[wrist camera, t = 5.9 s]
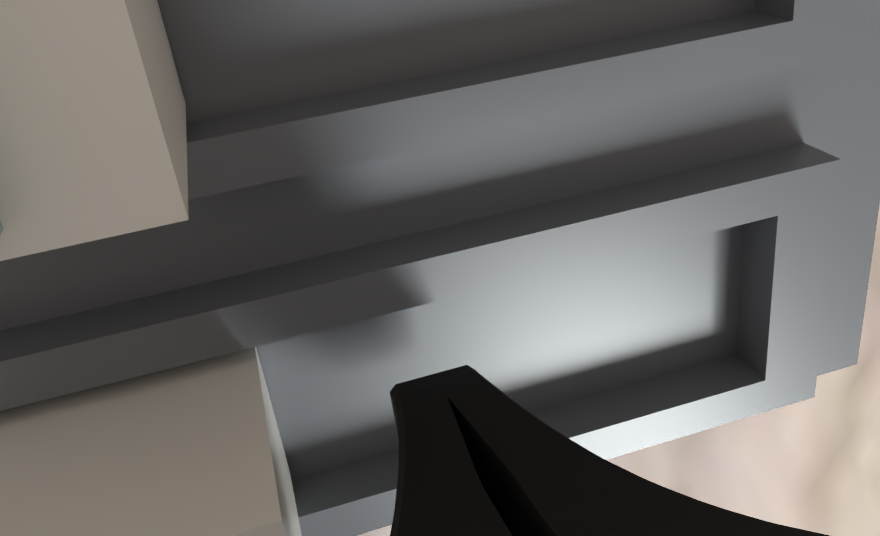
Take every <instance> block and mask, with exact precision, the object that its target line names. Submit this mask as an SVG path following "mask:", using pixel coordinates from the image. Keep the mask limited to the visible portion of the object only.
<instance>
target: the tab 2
mask: <svg viewBox="0 0 880 536" xmlns="http://www.w3.org/2000/svg"><path fill="white" fill-rule="evenodd" d="M0 536H302V535H301V529H300V524H299V518H298V513H297V507H296V502H295V496H294V491H293V485H292V480H291V474H290V470H289V466H288V463H287V459H286V455H285V451H284V448H283V444H282V440H281V437H280V433H279V429H278V426H277V422H276V418H275V415H274V411H273V407H272V404H271V400H270V396H269V393H268V389H267V385H266V382H265V378H264V374H263V370H262V367H261V363H260V359H259V356H258V352H257V348H256V347H253V348H249V349H245V350H241V351H237V352H234V353H230V354H226V355H222V356H218V357H214V358H210V359H206V360H202V361H198V362H194V363H190V364H186V365H182V366H178V367H174V368H170V369H166V370H162V371H158V372H154V373H150V374H146V375H142V376H138V377H134V378H130V379H126V380H122V381H118V382H114V383H110V384H106V385H102V386H98V387H94V388H90V389H86V390H82V391H78V392H74V393H70V394H66V395H63V396H59V397H55V398H51V399H47V400H43V401H39V402H35V403H31V404H27V405H23V406H19V407H15V408H11V409H7V410H3V411H0Z"/></svg>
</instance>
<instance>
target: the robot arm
mask: <svg viewBox="0 0 880 536" xmlns="http://www.w3.org/2000/svg"><path fill="white" fill-rule="evenodd" d="M390 397H391V402H392V407H393V412H394V417H395V422H396V428H397V433H398V438H399V466H398V480H397V490H396V500H395V509H394V516H393V522H392V528H391V534H390V536H829V535H824V534H820V533H815V532H811V531H806V530H802V529H797V528H792V527H788V526H783V525H779V524H774V523H770V522H767V521H763V520H759V519H756V518H753V517H749V516H746V515H742V514H739V513H735V512H732V511H729V510H725V509H722V508H719V507H716V506H713V505H710V504H707V503H704V502H701V501H698V500H696V499H693V498H691V497H688V496H685V495H683V494H680V493H678V492H675V491H672V490H670V489H667V488H665V487H662V486H660V485H657V484H655V483H653V482H650V481H648V480H646V479H644V478H641V477H639V476H637V475H635V474H633V473H631V472H629V471H627V470H625V469H623V468H621V467H619V466H617V465H614V464H612V463H610V462H608V461H606V460H605V459H603V458H601V457H599V456H597V455H596V454H594V453H592V452H591V451H589V450H587V449H585V448H584V447H582V446H580V445H579V444H577V443H575V442H574V441H572V440H570V439H569V438H567V437H566V436H564V435H563V434H561V433H560V432H558V431H556V430H555V429H553V428H552V427H551V426H549V425H548V424H546V423H545V422H543V421H542V420H540V419H539V418H537V417H536V416H535V415H533V414H532V413H530V412H529V411H527V410H526V409H525V408H523V407H522V406H520V405H519V404H518V403H516V402H515V401H514V400H512V399H511V398H510V397H509V396H507V395H506V394H505V393H503V392H502V391H501V390H499V389H498V388H497V387H496V386H494V385H493V384H492V383H491V382H489V381H488V380H487V379H486V378H484V377H483V376H482V375H481V374H479V373H478V372H477V371H476V370H475V369H473V368H472V367H470V366H468V365H464V366H460V367H457V368H453V369H450V370H446V371H442V372H439V373H435V374H431V375H428V376H424V377H420V378H417V379H413V380H409V381H406V382H402V383H398V384H395V385H394V387H393V388H392V389H391V391H390Z"/></svg>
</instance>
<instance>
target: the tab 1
mask: <svg viewBox="0 0 880 536" xmlns="http://www.w3.org/2000/svg"><path fill="white" fill-rule="evenodd" d="M186 220H189V218H188V177H187V136H186V103H185V100H184V96H183V92H182V89H181V85H180V81H179V78H178V74H177V70H176V67H175V63H174V60H173V56H172V52H171V49H170V45H169V41H168V38H167V34H166V30H165V27H164V23H163V19H162V16H161V12H160V8H159V5H158V1H157V0H0V261H3V260H8V259H12V258H17V257H21V256H26V255H31V254H35V253H40V252H44V251H49V250H53V249H58V248H63V247H67V246H72V245H76V244H81V243H85V242H90V241H95V240H99V239H104V238H108V237H113V236H117V235H122V234H127V233H131V232H136V231H140V230H145V229H149V228H154V227H158V226H163V225H168V224H172V223H177V222H181V221H186Z"/></svg>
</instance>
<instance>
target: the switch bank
mask: <svg viewBox="0 0 880 536" xmlns="http://www.w3.org/2000/svg"><path fill="white" fill-rule="evenodd" d="M157 1H158V5H159V8H160V12H161V16H162V19H163V23H164V27H165V30H166V34H167V38H168V41H169V45H170V49H171V52H172V56H173V60H174V63H175V67H176V70H177V74H178V78H179V81H180V85H181V89H182V92H183V96H184V100H185V103H186V136H187V177H188V218H189V220H186V221H181V222H177V223H172V224H168V225H163V226H158V227H154V228H149V229H145V230H140V231H136V232H131V233H127V234H122V235H117V236H113V237H108V238H104V239H99V240H95V241H90V242H85V243H81V244H76V245H72V246H67V247H63V248H58V249H53V250H49V251H44V252H40V253H35V254H31V255H26V256H21V257H17V258H12V259H8V260H3V261H0V411H3V410H7V409H11V408H15V407H19V406H23V405H27V404H31V403H35V402H39V401H43V400H47V399H51V398H55V397H59V396H63V395H66V394H70V393H74V392H78V391H82V390H86V389H90V388H94V387H98V386H102V385H106V384H110V383H114V382H118V381H122V380H126V379H130V378H134V377H138V376H142V375H146V374H150V373H154V372H158V371H162V370H166V369H170V368H174V367H178V366H182V365H186V364H190V363H194V362H198V361H202V360H206V359H210V358H214V357H218V356H222V355H226V354H230V353H234V352H237V351H241V350H245V349H249V348H253V347H256V348H257V352H258V356H259V359H260V363H261V367H262V370H263V374H264V378H265V382H266V385H267V389H268V393H269V396H270V400H271V404H272V407H273V411H274V415H275V418H276V422H277V426H278V429H279V433H280V437H281V440H282V444H283V448H284V451H285V455H286V459H287V463H288V466H289V470H290V474H291V480H292V485H293V491H294V496H295V502H296V507H297V513H298V518H299V524H300V529H301V535H302V536H355V535H359V534H362V533H365V532H369V531H372V530H375V529H379V528H382V527H385V526H389V525H392V522H393V516H394V509H395V500H396V490H397V480H398V466H399V438H398V433H397V428H396V422H395V417H394V412H393V407H392V402H391V397H390V391H391V389H392V388H393V387H394V385H395V384H398V383H402V382H406V381H409V380H413V379H417V378H420V377H424V376H428V375H431V374H435V373H439V372H442V371H446V370H450V369H453V368H457V367H460V366H464V365H468V366H470V367H472V368H473V369H475V370H476V371H477V372H478V373H479V374H481V375H482V376H483V377H484V378H486V379H487V380H488V381H489V382H491V383H492V384H493V385H494V386H496V387H497V388H498V389H499V390H501V391H502V392H503V393H505V394H506V395H507V396H509V397H510V398H511V399H512V400H514V401H515V402H516V403H518V404H519V405H520V406H522V407H523V408H525V409H526V410H527V411H529V412H530V413H532V414H533V415H535V416H536V417H537V418H539V419H540V420H542V421H543V422H545V423H546V424H548V425H549V426H551V427H552V428H553V429H555V430H556V431H558V432H560V433H561V434H563V435H564V436H566V437H567V438H569V439H570V440H572V441H574V442H575V443H577V444H579V445H580V446H582V447H584V448H585V449H587V450H589V451H591V452H592V453H594V454H596V455H597V456H599V457H601V458H603V459H605V460H607V459H611V458H614V457H617V456H621V455H624V454H627V453H631V452H634V451H637V450H641V449H644V448H647V447H650V446H654V445H657V444H660V443H664V442H667V441H670V440H674V439H677V438H680V437H684V436H687V435H690V434H694V433H697V432H700V431H704V430H707V429H710V428H713V427H717V426H720V425H723V424H727V423H730V422H733V421H737V420H740V419H743V418H747V417H750V416H753V415H757V414H760V413H763V412H767V411H770V410H773V409H776V408H780V407H783V406H786V405H790V404H793V403H796V402H800V401H803V400H806V399H810V398H813V397H814V396H815V387H816V378H817V376H818V375H822V374H825V373H828V372H832V371H835V370H839V369H842V368H845V367H849V366H852V365H855V364H857V360H858V353H859V346H860V339H861V332H862V325H863V317H864V310H865V303H866V296H867V289H868V282H869V274H870V267H871V260H872V253H873V246H874V239H875V231H876V224H877V217H878V210H879V203H880V0H157Z"/></svg>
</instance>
